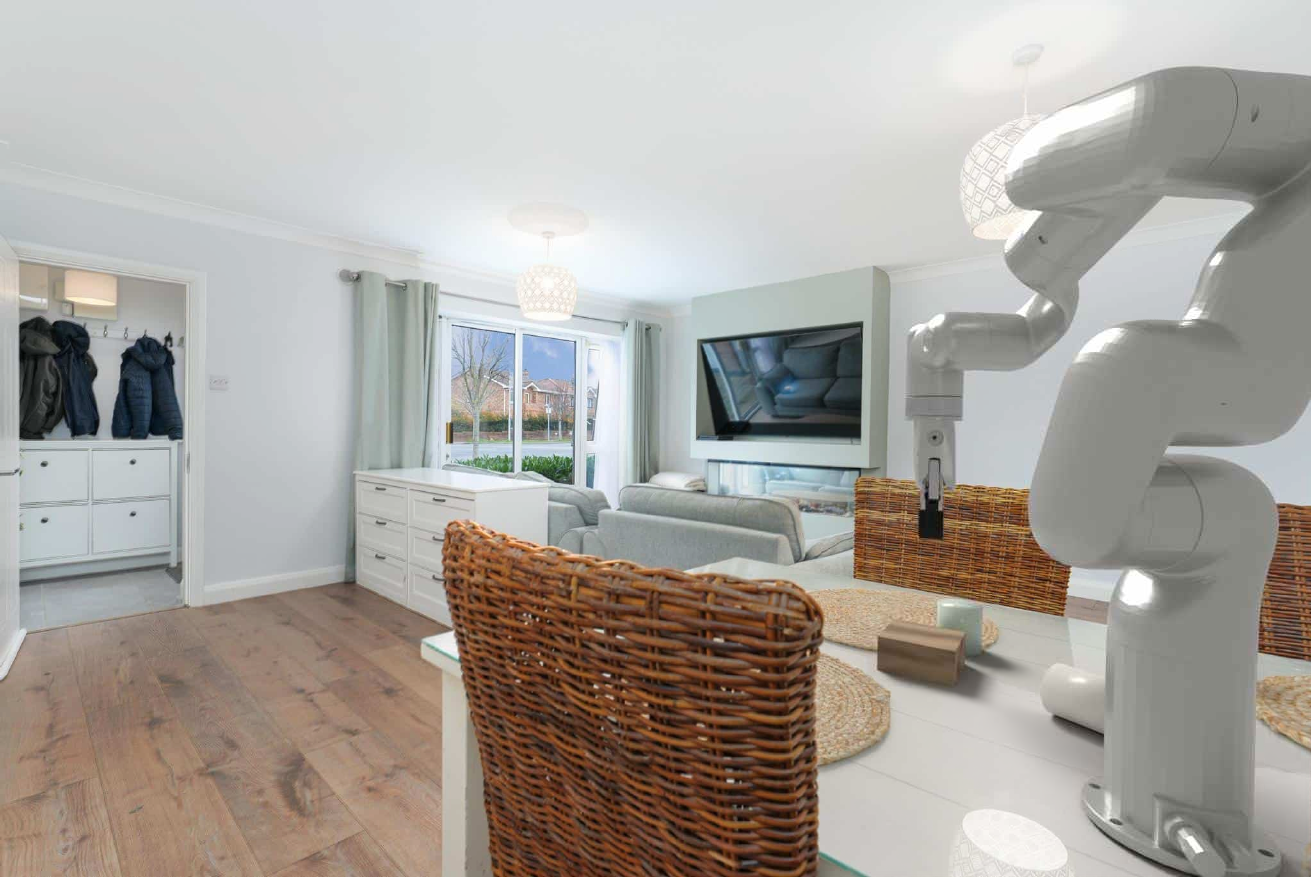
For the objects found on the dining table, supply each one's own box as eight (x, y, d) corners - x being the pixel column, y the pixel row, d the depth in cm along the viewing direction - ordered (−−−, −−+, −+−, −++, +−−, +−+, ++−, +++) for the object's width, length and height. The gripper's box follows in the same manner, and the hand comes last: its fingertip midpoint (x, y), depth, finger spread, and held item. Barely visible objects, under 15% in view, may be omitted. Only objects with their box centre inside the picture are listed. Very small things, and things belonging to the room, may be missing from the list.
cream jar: (1054, 724, 73) (1140, 760, 65) (1033, 691, 71) (1120, 724, 63) (1077, 684, 75) (1164, 714, 67) (1058, 651, 73) (1144, 678, 65)
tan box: (954, 688, 80) (955, 651, 80) (876, 671, 86) (877, 636, 86) (964, 665, 88) (965, 632, 88) (893, 651, 94) (894, 619, 94)
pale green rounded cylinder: (984, 658, 91) (985, 612, 91) (937, 652, 93) (938, 607, 93) (978, 644, 97) (979, 601, 97) (935, 639, 99) (935, 597, 99)
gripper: (969, 408, 78) (965, 549, 78) (957, 412, 92) (953, 532, 92) (906, 408, 81) (903, 544, 81) (904, 412, 95) (901, 528, 95)
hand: (930, 537), depth 87 cm, fingers closed
